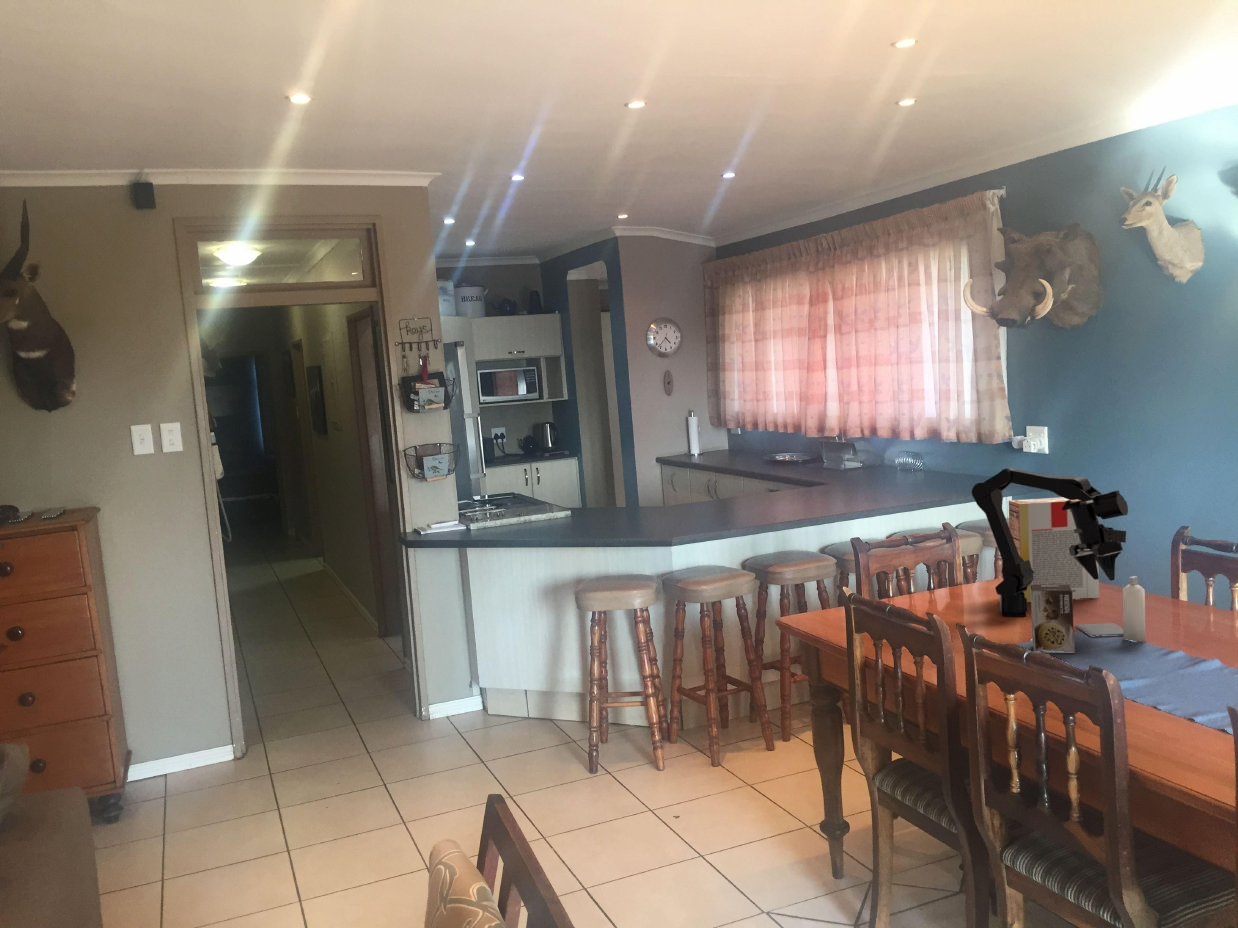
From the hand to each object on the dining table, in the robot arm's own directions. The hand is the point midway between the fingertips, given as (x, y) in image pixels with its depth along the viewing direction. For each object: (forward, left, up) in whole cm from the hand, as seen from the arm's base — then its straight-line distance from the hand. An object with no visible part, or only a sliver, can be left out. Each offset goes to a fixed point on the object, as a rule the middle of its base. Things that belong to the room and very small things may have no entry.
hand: (1104, 579), depth 239 cm
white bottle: (+4, -11, -13) cm, 18 cm away
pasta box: (-6, +34, -13) cm, 37 cm away
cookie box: (-17, -21, -13) cm, 30 cm away
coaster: (-1, -4, -13) cm, 14 cm away
